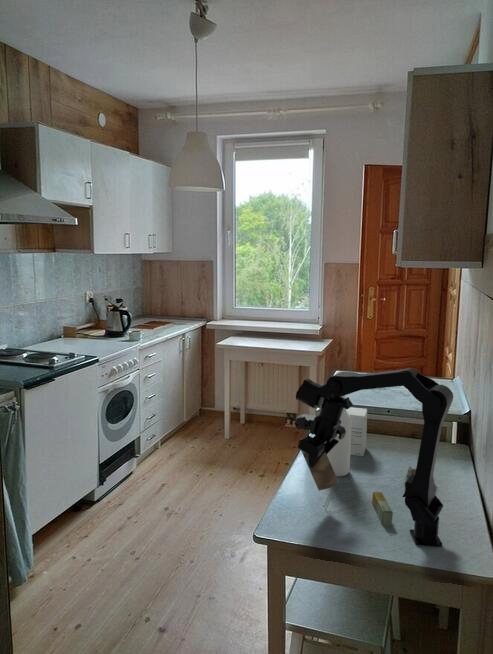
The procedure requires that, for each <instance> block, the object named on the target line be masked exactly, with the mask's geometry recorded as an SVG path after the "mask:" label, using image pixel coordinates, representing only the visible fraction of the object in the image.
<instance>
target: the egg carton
mask: <svg viewBox="0 0 493 654" xmlns="http://www.w3.org/2000/svg"><path fill="white" fill-rule="evenodd" d="M415 473H416V468H413V467H412V466H409V467H408V468H407V473H406V474H405V477H404V483H405V482H406V481H407V479H408V478H409V477H410V476H411V474H414V475H415Z"/></svg>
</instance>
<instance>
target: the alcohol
mask: <svg viewBox="0 0 493 654" xmlns="http://www.w3.org/2000/svg"><path fill="white" fill-rule="evenodd" d="M341 397H342V398H346V395H344V396H341ZM340 420H341V421H342V422H341V424H340V426H342V427H344V428H345V430H346V433H345V436H344V438H342V439H341V440H340V439H339V434H337V437H336V438H335V439H336V440H338V441H339V442H338V443H337V444H336V445H335V446H334V447H333V449H332V450H331V451H330V452H329V453H328V454H327V457H328V459H329V461H330V463H331V466H332V468H333V470H334V472H335V475H336V477H337V478H341V477H345V476H347V475H348V474H349V472H350V471H351V455H350V451H351V426H352V421H351V417H350V415H349V414H348V412H347V411H346V409H345V408H344V409H343V412H342V415H341V418H340Z"/></svg>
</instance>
